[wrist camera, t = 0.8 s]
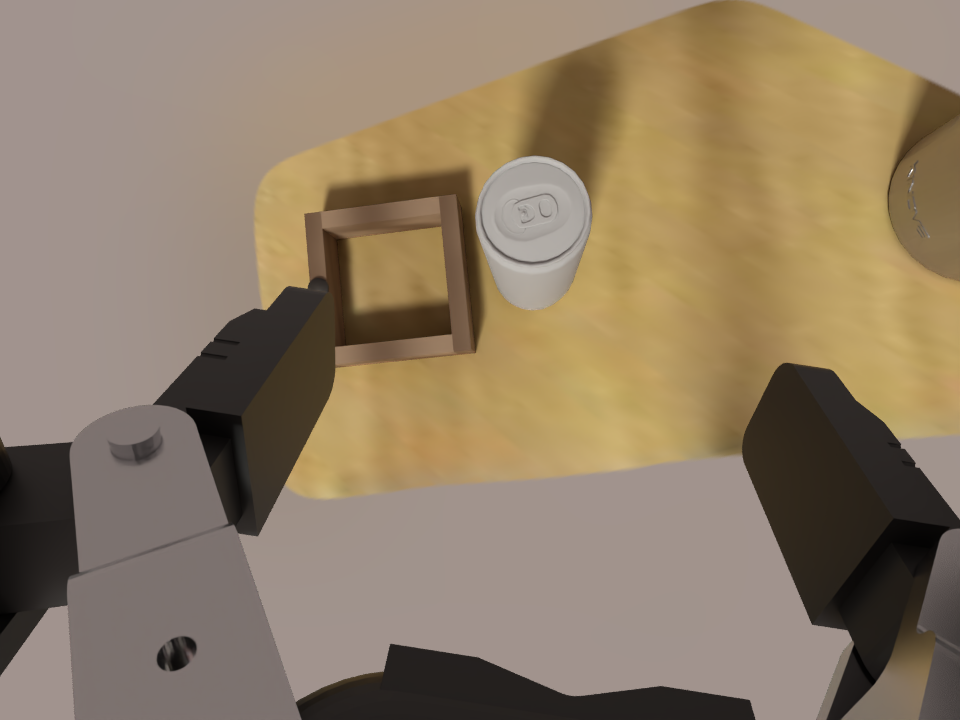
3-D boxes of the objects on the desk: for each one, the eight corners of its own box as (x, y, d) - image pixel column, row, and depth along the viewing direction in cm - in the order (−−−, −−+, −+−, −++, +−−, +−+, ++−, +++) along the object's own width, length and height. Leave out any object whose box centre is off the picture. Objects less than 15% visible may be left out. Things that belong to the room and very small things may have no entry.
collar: (461, 207, 36) (455, 193, 33) (475, 352, 35) (470, 349, 32) (318, 226, 36) (301, 213, 34) (330, 368, 36) (314, 366, 33)
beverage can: (486, 244, 35) (460, 169, 23) (563, 223, 35) (577, 137, 23) (504, 320, 35) (488, 284, 23) (582, 300, 35) (607, 253, 23)
